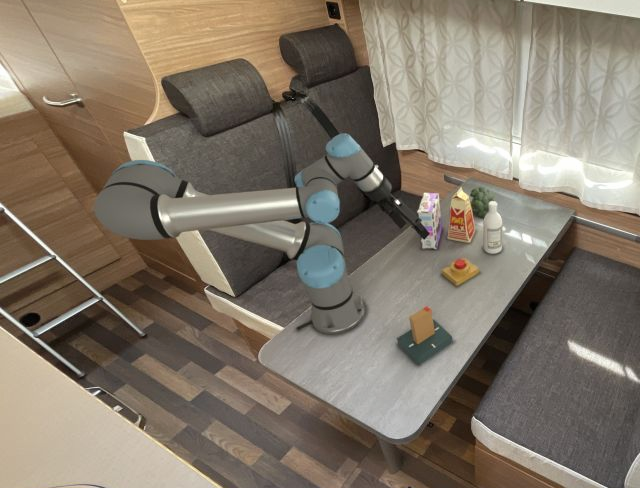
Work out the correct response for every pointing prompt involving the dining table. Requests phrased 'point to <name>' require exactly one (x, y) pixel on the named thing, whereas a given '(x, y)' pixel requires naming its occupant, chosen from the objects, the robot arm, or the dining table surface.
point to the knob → (422, 324)
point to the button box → (460, 272)
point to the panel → (425, 344)
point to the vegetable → (481, 200)
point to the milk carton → (461, 218)
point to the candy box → (430, 219)
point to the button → (460, 264)
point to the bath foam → (492, 230)
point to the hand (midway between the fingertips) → (414, 231)
